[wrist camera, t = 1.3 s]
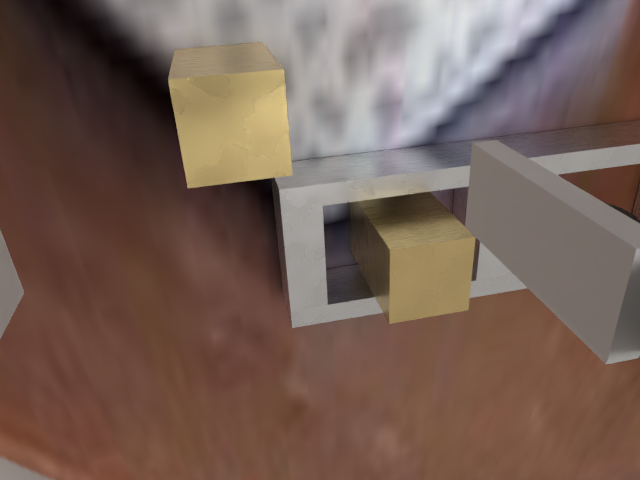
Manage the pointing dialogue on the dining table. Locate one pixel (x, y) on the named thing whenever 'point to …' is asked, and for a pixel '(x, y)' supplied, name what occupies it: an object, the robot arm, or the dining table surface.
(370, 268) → the tan wooden brick
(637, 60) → the dining table surface
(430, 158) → the rail
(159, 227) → the dining table surface
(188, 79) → the yellow rectangular block
